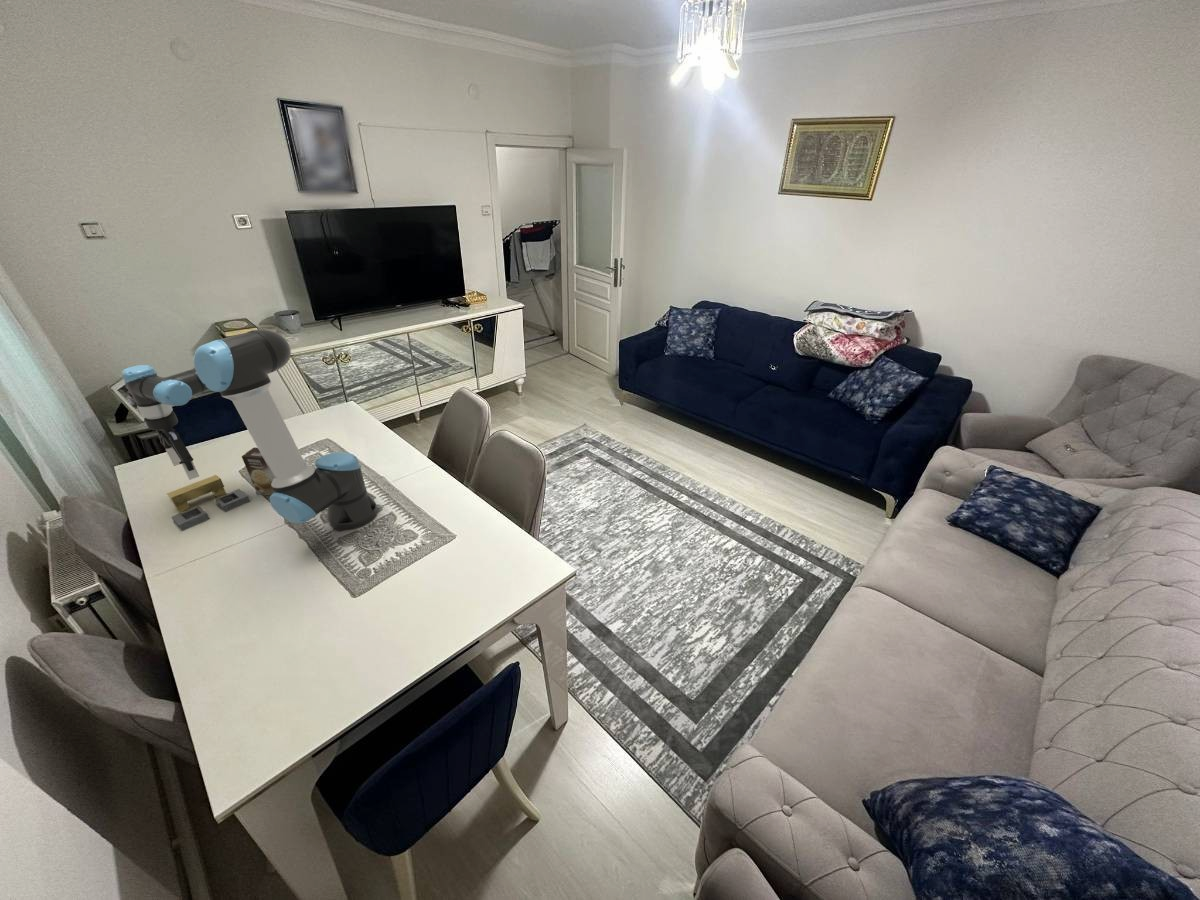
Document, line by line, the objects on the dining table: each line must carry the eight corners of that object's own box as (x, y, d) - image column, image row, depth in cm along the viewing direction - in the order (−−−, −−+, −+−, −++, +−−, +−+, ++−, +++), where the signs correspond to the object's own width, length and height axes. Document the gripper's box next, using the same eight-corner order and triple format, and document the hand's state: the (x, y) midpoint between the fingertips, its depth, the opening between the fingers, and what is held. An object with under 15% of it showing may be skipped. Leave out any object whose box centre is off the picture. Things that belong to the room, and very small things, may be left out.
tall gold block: (227, 493, 172) (220, 478, 169) (179, 513, 162) (171, 497, 158) (222, 489, 174) (216, 474, 171) (175, 509, 164) (166, 493, 160)
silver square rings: (250, 501, 168) (248, 495, 167) (182, 530, 154) (179, 524, 153) (241, 494, 172) (239, 488, 170) (174, 522, 157) (171, 516, 156)
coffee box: (255, 494, 172) (239, 456, 164) (268, 484, 177) (253, 447, 169) (280, 496, 171) (264, 458, 163) (291, 486, 176) (277, 448, 168)
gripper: (188, 421, 147) (214, 478, 158) (159, 400, 160) (185, 454, 170) (158, 430, 142) (187, 488, 153) (130, 407, 154) (159, 463, 165)
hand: (186, 470), depth 162 cm, fingers open, 13 cm apart
